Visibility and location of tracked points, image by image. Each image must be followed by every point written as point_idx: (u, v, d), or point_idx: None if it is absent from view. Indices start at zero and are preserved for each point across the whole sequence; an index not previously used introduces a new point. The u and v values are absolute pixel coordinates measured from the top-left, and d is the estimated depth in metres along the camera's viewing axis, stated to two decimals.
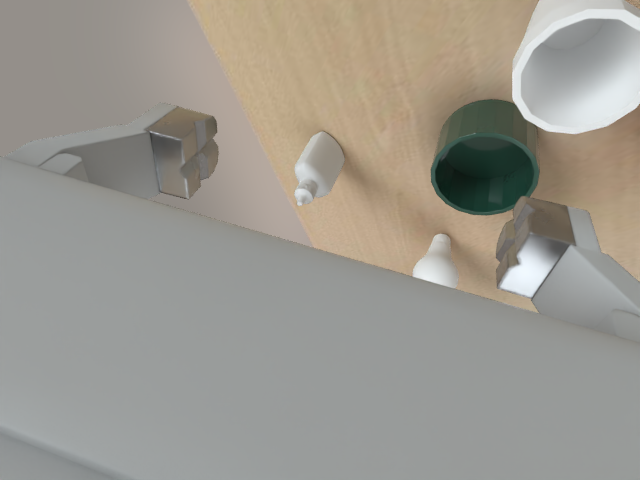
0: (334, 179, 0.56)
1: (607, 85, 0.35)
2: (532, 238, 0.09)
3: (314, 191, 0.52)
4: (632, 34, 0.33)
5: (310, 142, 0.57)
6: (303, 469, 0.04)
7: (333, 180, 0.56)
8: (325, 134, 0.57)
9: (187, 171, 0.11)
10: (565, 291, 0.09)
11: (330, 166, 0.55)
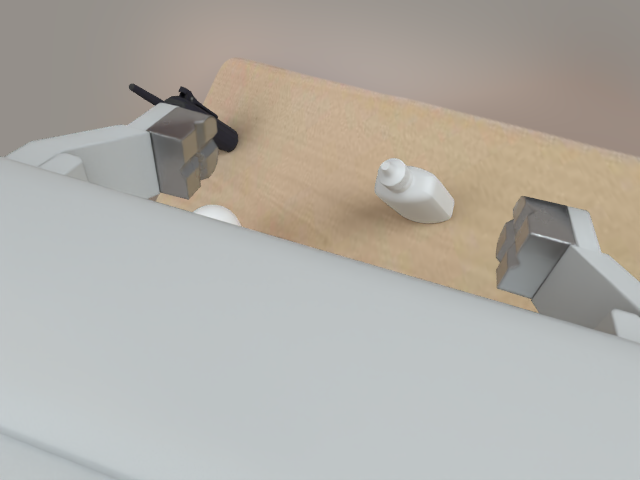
0: (386, 203, 0.41)
1: None
2: (532, 238, 0.09)
3: (387, 188, 0.36)
4: None
5: (449, 201, 0.40)
6: (303, 470, 0.04)
7: (386, 202, 0.40)
8: (444, 220, 0.42)
9: (187, 171, 0.11)
10: (565, 291, 0.09)
11: (404, 210, 0.40)
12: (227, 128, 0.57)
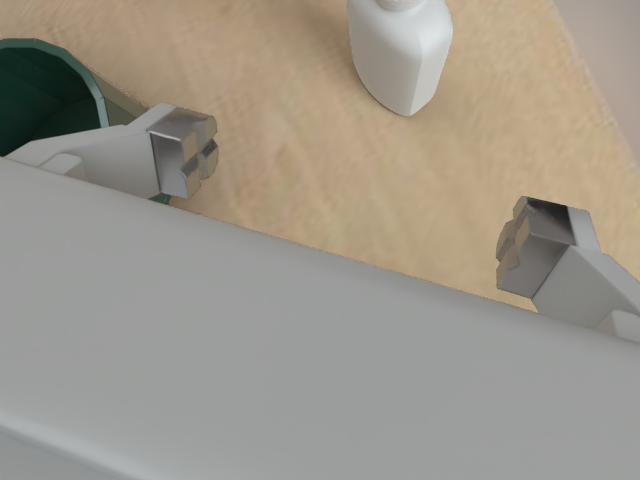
0: (348, 16, 0.22)
1: None
2: (532, 238, 0.09)
3: None
4: None
5: (429, 91, 0.24)
6: (303, 471, 0.04)
7: (349, 14, 0.21)
8: (399, 112, 0.26)
9: (187, 171, 0.11)
10: (565, 291, 0.09)
11: (363, 50, 0.22)
12: None
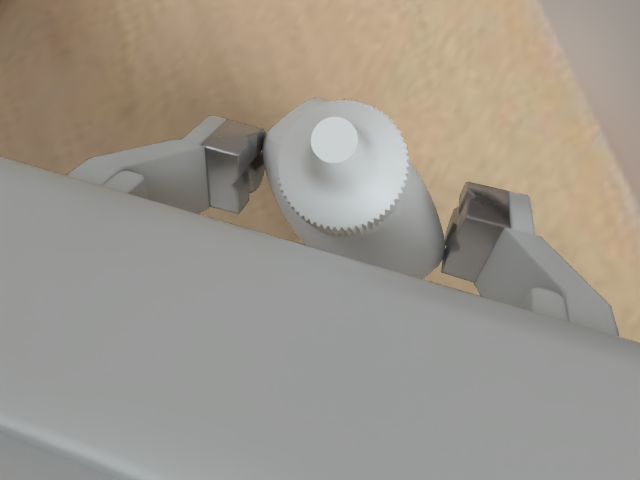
0: None
1: None
2: (468, 221, 0.09)
3: None
4: None
5: None
6: (303, 469, 0.04)
7: None
8: None
9: (239, 185, 0.11)
10: (501, 273, 0.09)
11: None
12: None
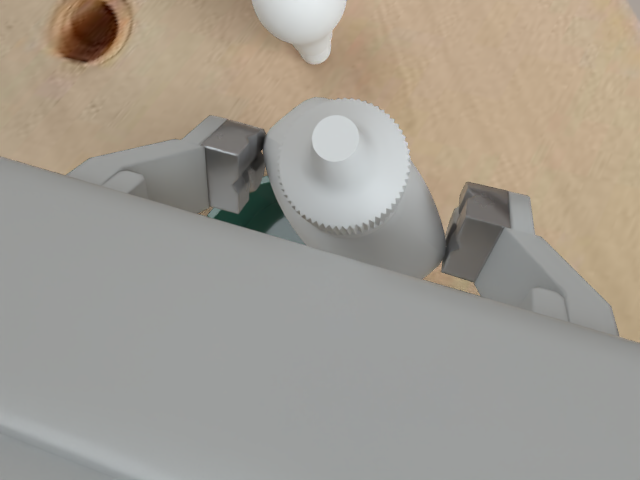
0: None
1: None
2: (468, 221, 0.09)
3: None
4: None
5: None
6: (303, 469, 0.04)
7: None
8: None
9: (239, 185, 0.11)
10: (501, 273, 0.09)
11: None
12: None
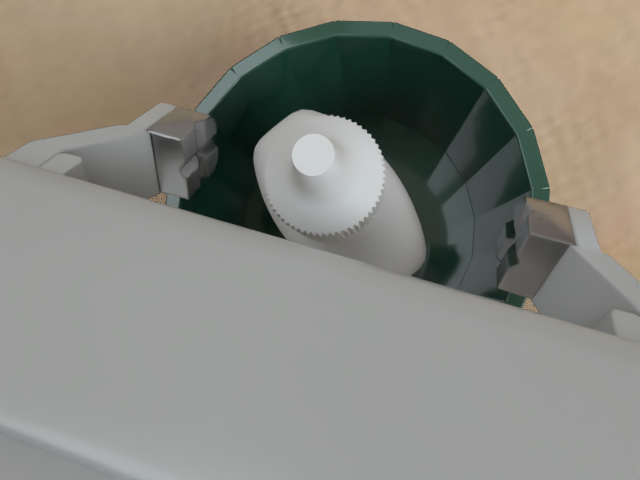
0: None
1: None
2: (532, 238, 0.09)
3: None
4: None
5: None
6: (303, 470, 0.04)
7: None
8: None
9: (187, 171, 0.11)
10: (565, 291, 0.09)
11: None
12: None
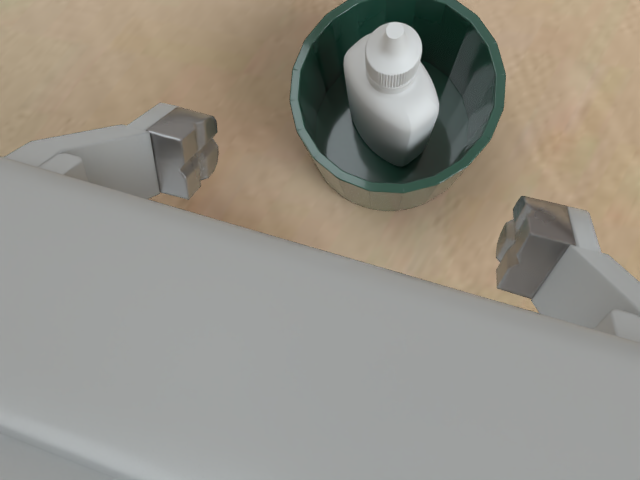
0: (346, 84, 0.24)
1: None
2: (532, 238, 0.09)
3: (367, 68, 0.19)
4: None
5: (419, 148, 0.26)
6: (304, 470, 0.04)
7: (346, 83, 0.24)
8: (393, 163, 0.28)
9: (187, 171, 0.11)
10: (565, 291, 0.09)
11: (359, 114, 0.24)
12: None
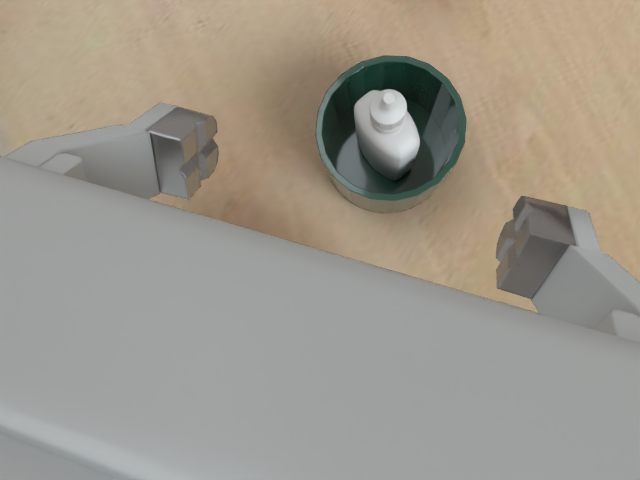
0: (355, 122, 0.34)
1: None
2: (532, 238, 0.09)
3: (370, 117, 0.29)
4: None
5: (407, 167, 0.36)
6: (304, 469, 0.04)
7: (355, 122, 0.33)
8: (388, 178, 0.37)
9: (187, 171, 0.11)
10: (565, 291, 0.09)
11: (364, 143, 0.34)
12: None
